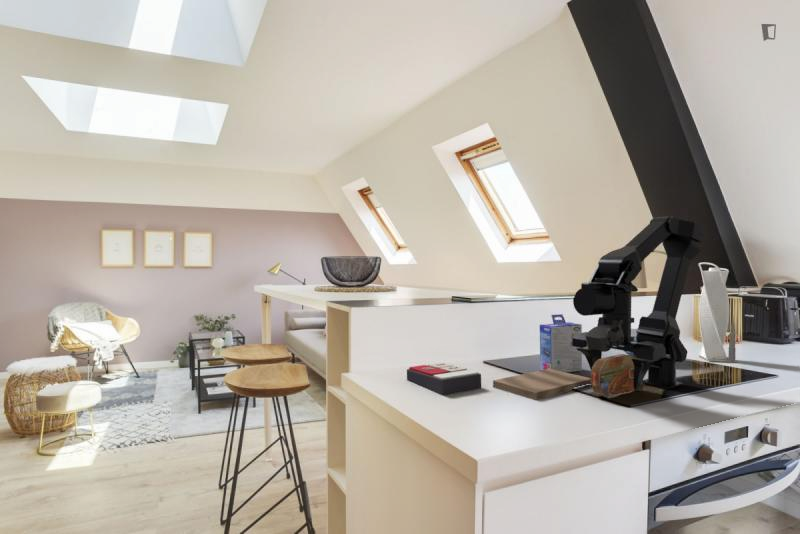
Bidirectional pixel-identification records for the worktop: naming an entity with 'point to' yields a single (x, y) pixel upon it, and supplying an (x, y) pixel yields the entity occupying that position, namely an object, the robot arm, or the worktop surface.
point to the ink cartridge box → (559, 346)
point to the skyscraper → (715, 316)
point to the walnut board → (541, 383)
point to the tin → (613, 375)
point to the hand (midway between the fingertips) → (615, 384)
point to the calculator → (444, 378)
